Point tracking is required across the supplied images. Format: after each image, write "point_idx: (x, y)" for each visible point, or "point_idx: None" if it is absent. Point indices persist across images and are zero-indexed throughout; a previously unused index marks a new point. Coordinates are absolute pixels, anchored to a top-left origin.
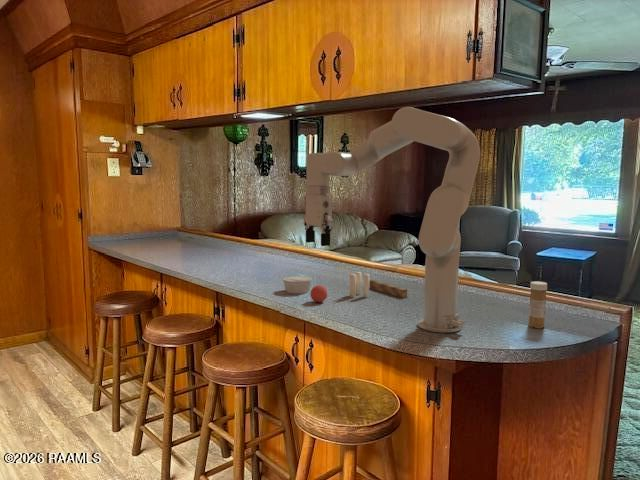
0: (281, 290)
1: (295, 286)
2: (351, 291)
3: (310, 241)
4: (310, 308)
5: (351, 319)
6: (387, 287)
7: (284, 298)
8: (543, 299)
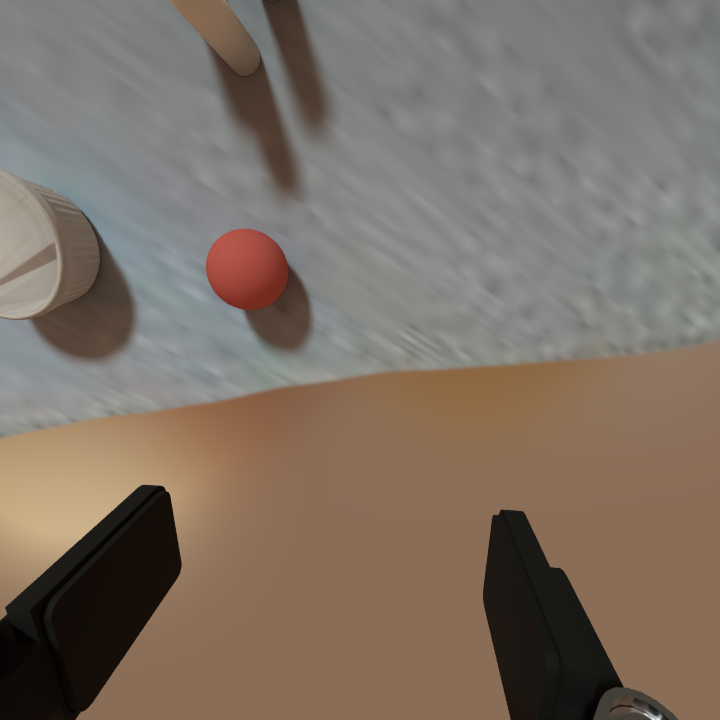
0: None
1: (74, 287)
2: (240, 57)
3: (173, 540)
4: (334, 349)
5: (555, 302)
6: None
7: (154, 356)
8: None
